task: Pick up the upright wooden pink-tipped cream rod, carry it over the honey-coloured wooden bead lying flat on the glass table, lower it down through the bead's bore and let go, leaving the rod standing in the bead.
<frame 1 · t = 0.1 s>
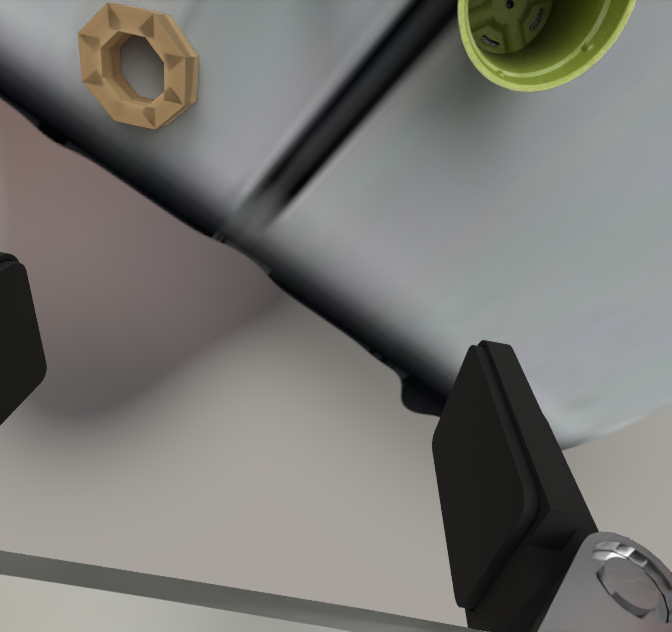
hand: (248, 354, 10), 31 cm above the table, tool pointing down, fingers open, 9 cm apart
bead: (150, 67, 35), on the table
plant pot: (505, 4, 32), on the table
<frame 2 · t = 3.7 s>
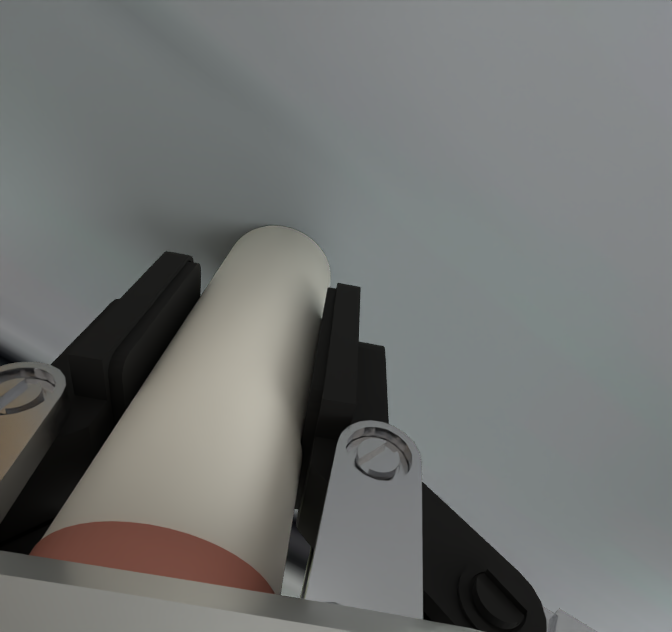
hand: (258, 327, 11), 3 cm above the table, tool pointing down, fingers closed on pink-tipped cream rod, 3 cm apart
pink-tipped cream rod: (278, 275, 13), on the table, touching gripper
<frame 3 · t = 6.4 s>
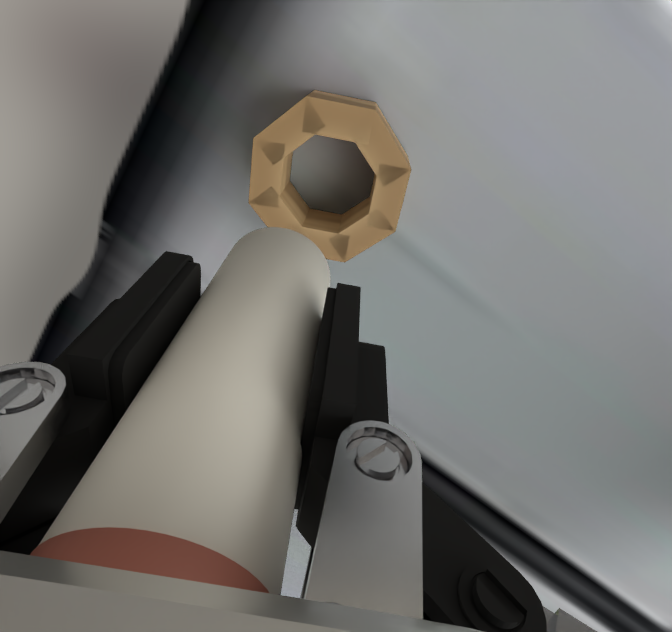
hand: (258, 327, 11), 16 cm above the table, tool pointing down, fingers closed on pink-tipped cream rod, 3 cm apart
pink-tipped cream rod: (278, 277, 13), point 13 cm above the table, touching gripper
bead: (332, 171, 24), on the table
when the fingers open (4 cm above the table, at t = 8.9 s): pink-tipped cream rod drops 1 cm, resting in bead.
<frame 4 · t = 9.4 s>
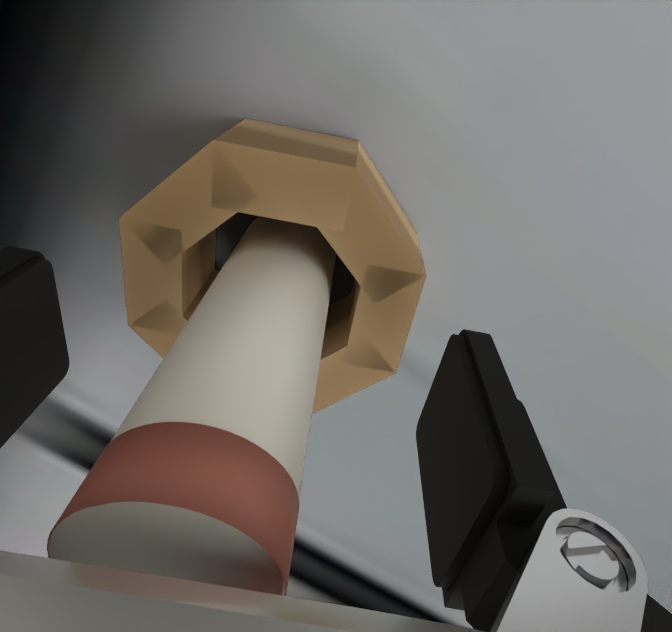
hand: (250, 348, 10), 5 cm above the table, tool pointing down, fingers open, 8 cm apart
pink-tipped cream rod: (288, 255, 14), resting in bead
bead: (286, 254, 14), on the table
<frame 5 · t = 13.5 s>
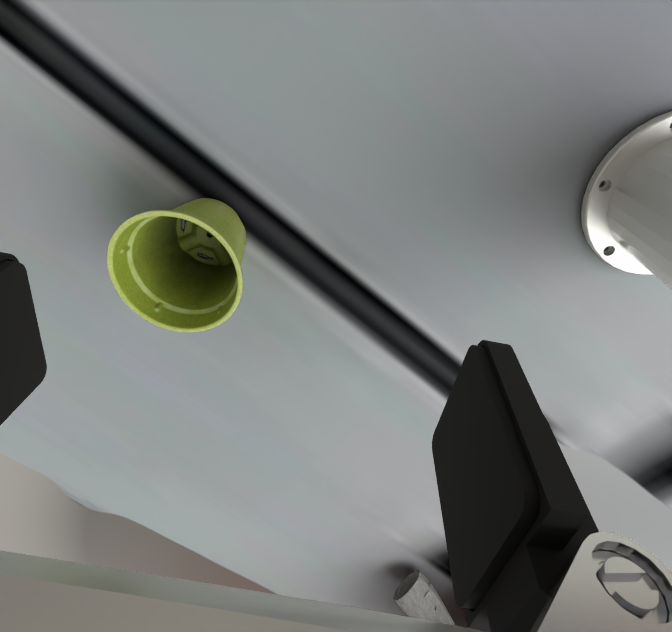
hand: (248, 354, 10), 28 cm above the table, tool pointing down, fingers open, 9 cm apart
plant pot: (212, 230, 39), on the table
bouquet: (478, 600, 67), on the table
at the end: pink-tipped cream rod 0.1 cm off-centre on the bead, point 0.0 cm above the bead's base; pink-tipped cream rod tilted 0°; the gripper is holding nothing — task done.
